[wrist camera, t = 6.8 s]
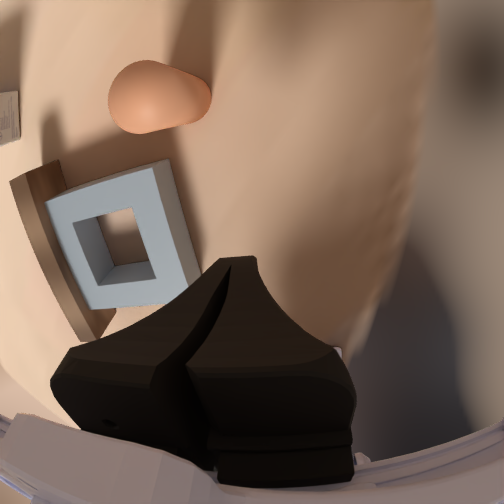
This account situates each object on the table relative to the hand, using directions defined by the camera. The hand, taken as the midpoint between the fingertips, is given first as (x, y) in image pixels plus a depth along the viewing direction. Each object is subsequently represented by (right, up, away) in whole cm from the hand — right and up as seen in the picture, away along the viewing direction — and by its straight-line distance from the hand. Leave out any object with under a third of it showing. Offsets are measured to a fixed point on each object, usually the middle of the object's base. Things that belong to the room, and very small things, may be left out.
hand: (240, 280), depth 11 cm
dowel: (-4, +10, +6) cm, 12 cm away
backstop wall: (-14, +2, +11) cm, 18 cm away
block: (-8, +2, +10) cm, 13 cm away
